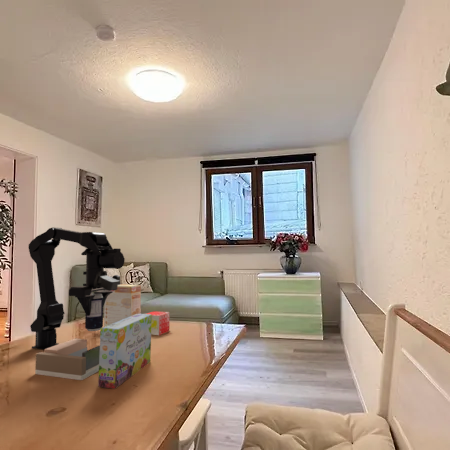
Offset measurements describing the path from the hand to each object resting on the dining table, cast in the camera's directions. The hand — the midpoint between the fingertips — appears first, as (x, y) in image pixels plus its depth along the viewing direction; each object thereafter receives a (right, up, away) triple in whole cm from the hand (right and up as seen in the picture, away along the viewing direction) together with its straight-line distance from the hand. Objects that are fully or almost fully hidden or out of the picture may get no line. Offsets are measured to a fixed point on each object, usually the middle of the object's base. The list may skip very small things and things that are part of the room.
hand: (94, 314), depth 116 cm
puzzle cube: (+16, -15, +28) cm, 35 cm away
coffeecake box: (0, -16, +33) cm, 36 cm away
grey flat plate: (+7, -11, -16) cm, 20 cm away
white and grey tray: (+1, -12, -14) cm, 18 cm away
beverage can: (0, -6, 0) cm, 6 cm away
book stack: (-4, -11, -12) cm, 17 cm away
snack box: (+17, -12, -20) cm, 29 cm away
